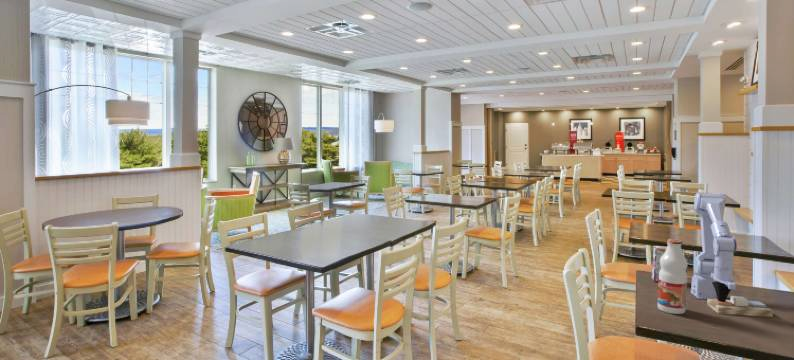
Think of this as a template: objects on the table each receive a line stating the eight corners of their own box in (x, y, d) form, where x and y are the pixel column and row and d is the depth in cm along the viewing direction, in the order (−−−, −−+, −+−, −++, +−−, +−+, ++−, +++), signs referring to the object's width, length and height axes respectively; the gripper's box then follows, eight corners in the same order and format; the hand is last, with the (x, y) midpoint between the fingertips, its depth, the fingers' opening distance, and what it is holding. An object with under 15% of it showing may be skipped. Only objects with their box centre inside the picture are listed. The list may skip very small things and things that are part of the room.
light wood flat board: (718, 313, 167) (718, 307, 167) (706, 304, 176) (707, 298, 176) (772, 317, 163) (772, 310, 163) (758, 307, 172) (758, 301, 172)
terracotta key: (717, 308, 169) (718, 302, 169) (712, 304, 173) (713, 298, 173) (729, 309, 169) (730, 303, 168) (724, 305, 172) (724, 299, 172)
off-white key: (735, 305, 168) (736, 299, 168) (730, 301, 172) (730, 295, 172) (747, 306, 167) (748, 300, 167) (741, 302, 171) (742, 296, 171)
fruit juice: (691, 313, 167) (695, 242, 165) (670, 315, 166) (673, 243, 163) (672, 304, 177) (675, 236, 174) (651, 306, 175) (654, 238, 173)
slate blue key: (753, 310, 167) (753, 304, 167) (747, 307, 171) (747, 300, 170) (765, 311, 166) (765, 305, 166) (759, 307, 170) (759, 301, 170)
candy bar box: (653, 282, 204) (655, 248, 203) (651, 279, 209) (652, 245, 208) (681, 284, 201) (683, 249, 199) (678, 281, 205) (680, 247, 204)
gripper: (745, 273, 162) (743, 308, 163) (725, 262, 176) (723, 295, 177) (724, 272, 163) (722, 307, 164) (705, 261, 177) (704, 294, 178)
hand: (721, 301), depth 171 cm, fingers closed, pressing on terracotta key
